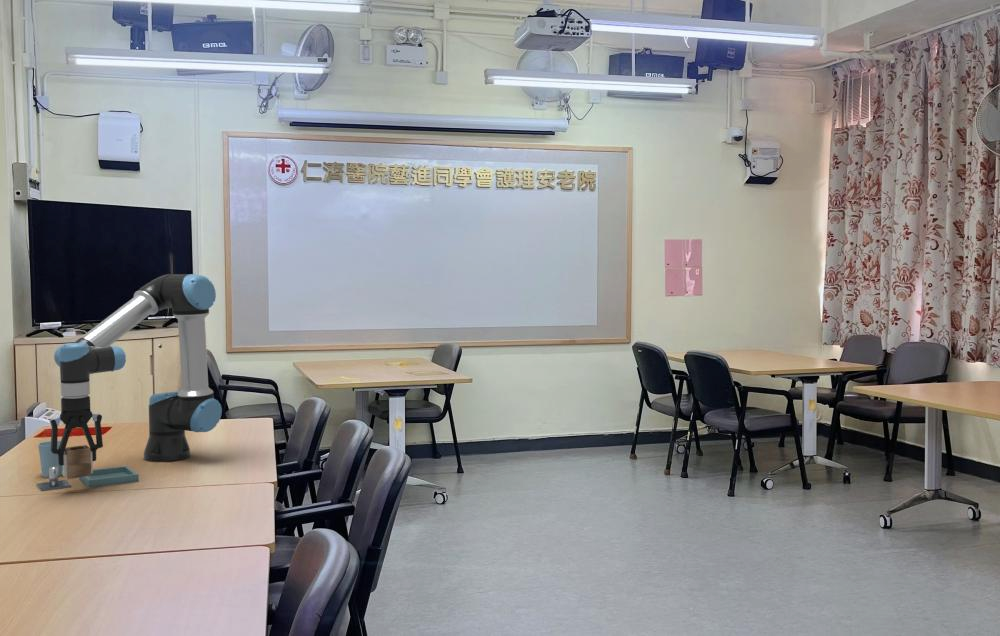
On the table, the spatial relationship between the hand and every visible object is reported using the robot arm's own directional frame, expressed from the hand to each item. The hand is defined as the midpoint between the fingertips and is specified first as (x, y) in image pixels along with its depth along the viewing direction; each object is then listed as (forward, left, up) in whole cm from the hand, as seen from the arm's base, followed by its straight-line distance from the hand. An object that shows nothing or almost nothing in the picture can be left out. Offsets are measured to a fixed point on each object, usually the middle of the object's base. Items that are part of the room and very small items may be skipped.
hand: (77, 474), depth 236 cm
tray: (-10, -10, -5) cm, 15 cm away
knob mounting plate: (+5, -11, -5) cm, 13 cm away
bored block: (0, 0, 0) cm, 0 cm away
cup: (+3, -26, -5) cm, 26 cm away
